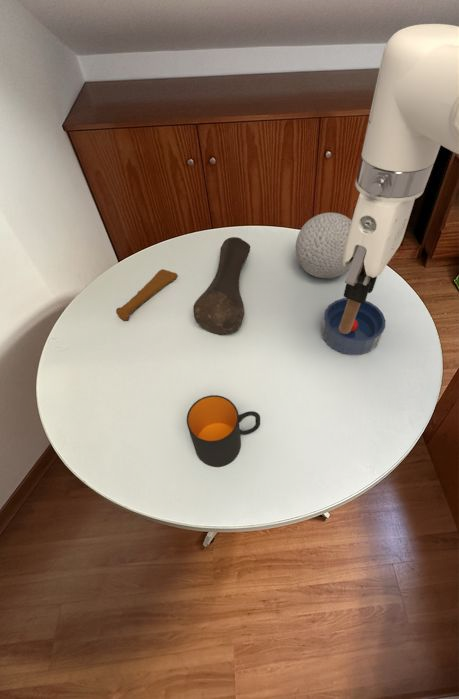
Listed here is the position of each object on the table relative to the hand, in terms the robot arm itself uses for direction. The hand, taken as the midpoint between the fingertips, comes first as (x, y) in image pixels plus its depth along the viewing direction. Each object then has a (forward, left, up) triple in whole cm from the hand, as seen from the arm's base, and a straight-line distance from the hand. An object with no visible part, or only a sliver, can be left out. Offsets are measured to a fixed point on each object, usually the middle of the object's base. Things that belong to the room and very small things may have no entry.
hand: (358, 293), depth 55 cm
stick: (0, 0, -9) cm, 9 cm away
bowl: (+2, -12, -23) cm, 26 cm away
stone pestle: (+32, -8, -23) cm, 40 cm away
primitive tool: (+49, +2, -23) cm, 54 cm away
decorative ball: (+16, -28, -23) cm, 40 cm away
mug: (+10, +23, -23) cm, 34 cm away
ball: (+2, -14, -22) cm, 26 cm away
